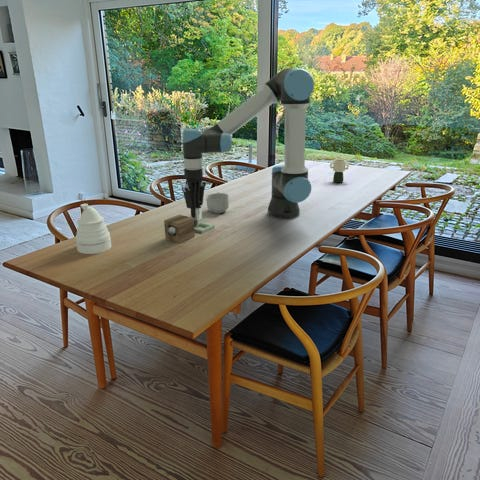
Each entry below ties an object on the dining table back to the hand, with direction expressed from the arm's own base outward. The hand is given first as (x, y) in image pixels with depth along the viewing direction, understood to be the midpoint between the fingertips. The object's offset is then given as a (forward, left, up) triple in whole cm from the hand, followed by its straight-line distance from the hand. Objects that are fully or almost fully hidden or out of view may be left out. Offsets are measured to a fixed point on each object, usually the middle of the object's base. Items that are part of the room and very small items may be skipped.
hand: (195, 222), depth 192 cm
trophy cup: (-15, -113, -4) cm, 114 cm away
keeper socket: (0, -3, -4) cm, 5 cm away
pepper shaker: (+9, -11, -4) cm, 15 cm away
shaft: (0, +8, -1) cm, 9 cm away
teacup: (+10, -28, -4) cm, 30 cm away
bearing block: (0, +10, -4) cm, 11 cm away
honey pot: (+21, +37, -4) cm, 42 cm away
